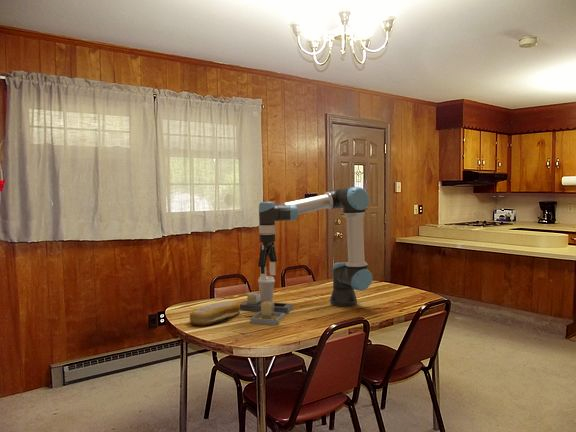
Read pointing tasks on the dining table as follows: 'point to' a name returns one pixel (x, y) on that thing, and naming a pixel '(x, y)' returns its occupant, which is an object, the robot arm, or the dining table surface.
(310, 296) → the dining table surface
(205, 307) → the bread
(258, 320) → the parts tray
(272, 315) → the tan rectangular block
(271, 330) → the dining table surface
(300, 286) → the dining table surface
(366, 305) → the dining table surface
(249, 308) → the grey slotted holder
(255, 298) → the grey rectangular block
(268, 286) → the coffee cup
